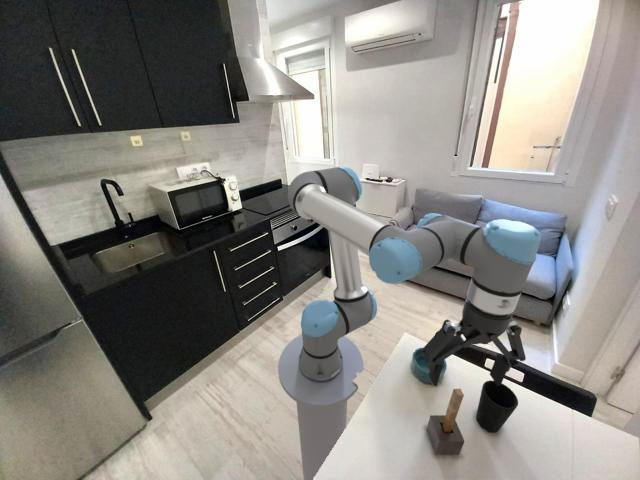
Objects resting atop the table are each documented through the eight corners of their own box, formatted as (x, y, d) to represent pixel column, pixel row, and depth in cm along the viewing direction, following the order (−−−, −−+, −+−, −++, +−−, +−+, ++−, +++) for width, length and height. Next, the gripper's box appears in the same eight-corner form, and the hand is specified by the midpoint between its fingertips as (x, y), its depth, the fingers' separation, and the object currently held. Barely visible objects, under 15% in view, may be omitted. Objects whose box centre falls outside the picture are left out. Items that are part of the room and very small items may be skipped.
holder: (435, 454, 64) (439, 441, 62) (426, 428, 70) (430, 415, 67) (459, 454, 64) (464, 441, 61) (448, 428, 69) (453, 415, 67)
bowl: (404, 370, 86) (406, 359, 83) (419, 352, 92) (422, 342, 90) (434, 391, 79) (437, 380, 77) (448, 371, 85) (451, 360, 83)
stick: (440, 444, 66) (456, 395, 57) (437, 437, 68) (453, 388, 59) (446, 444, 66) (464, 395, 57) (443, 437, 68) (460, 388, 59)
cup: (479, 402, 76) (490, 375, 70) (508, 424, 70) (523, 396, 65) (466, 419, 71) (477, 391, 66) (496, 444, 66) (510, 416, 61)
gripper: (429, 318, 44) (412, 397, 53) (576, 316, 44) (533, 396, 53) (414, 291, 51) (402, 365, 60) (541, 289, 50) (509, 364, 60)
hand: (463, 380), depth 56 cm, fingers open, 13 cm apart
